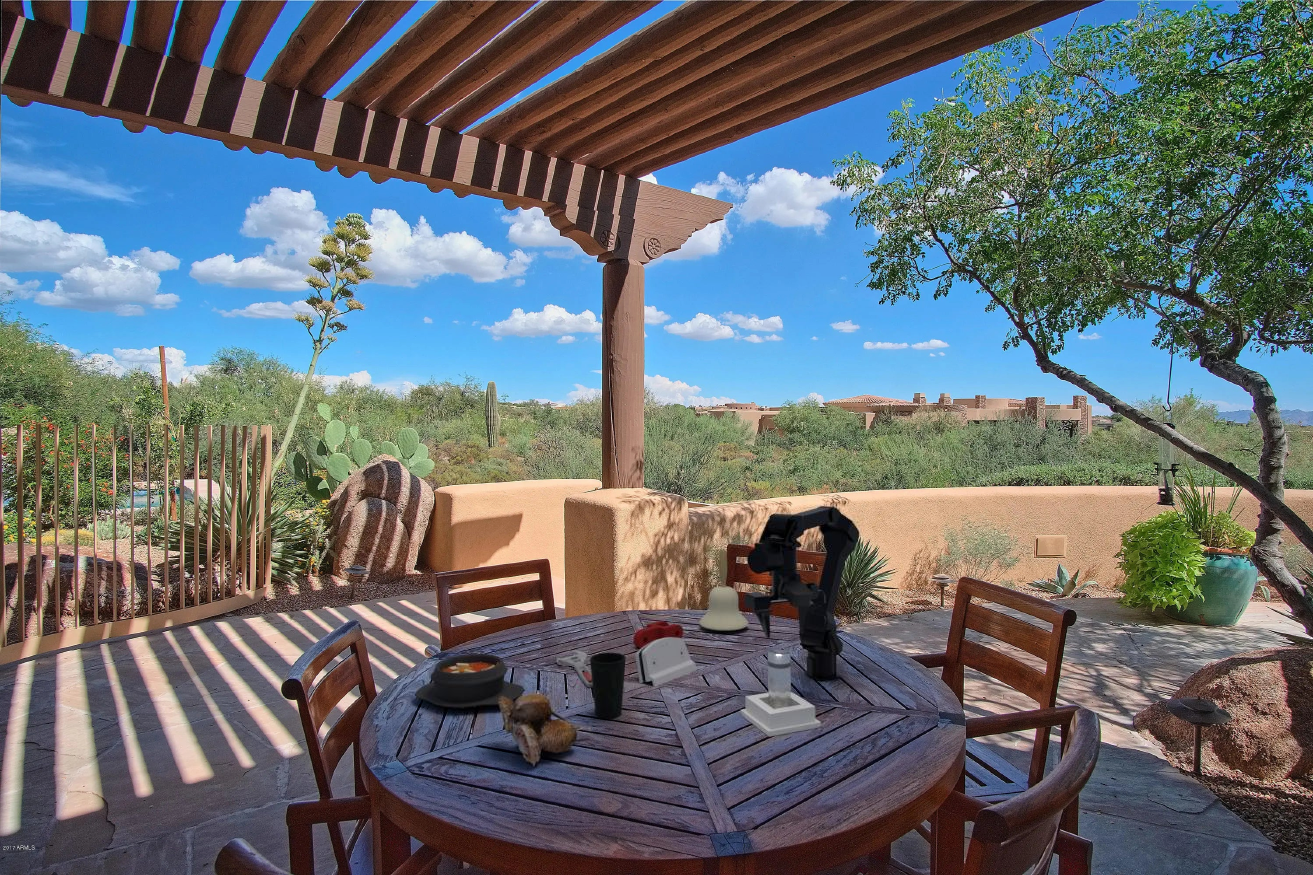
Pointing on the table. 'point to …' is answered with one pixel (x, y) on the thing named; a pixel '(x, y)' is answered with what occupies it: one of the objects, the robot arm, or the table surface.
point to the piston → (779, 679)
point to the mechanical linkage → (656, 633)
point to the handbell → (723, 604)
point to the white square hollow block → (780, 715)
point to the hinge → (663, 661)
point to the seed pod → (536, 726)
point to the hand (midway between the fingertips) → (785, 635)
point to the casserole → (469, 682)
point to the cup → (608, 684)
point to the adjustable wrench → (578, 666)
